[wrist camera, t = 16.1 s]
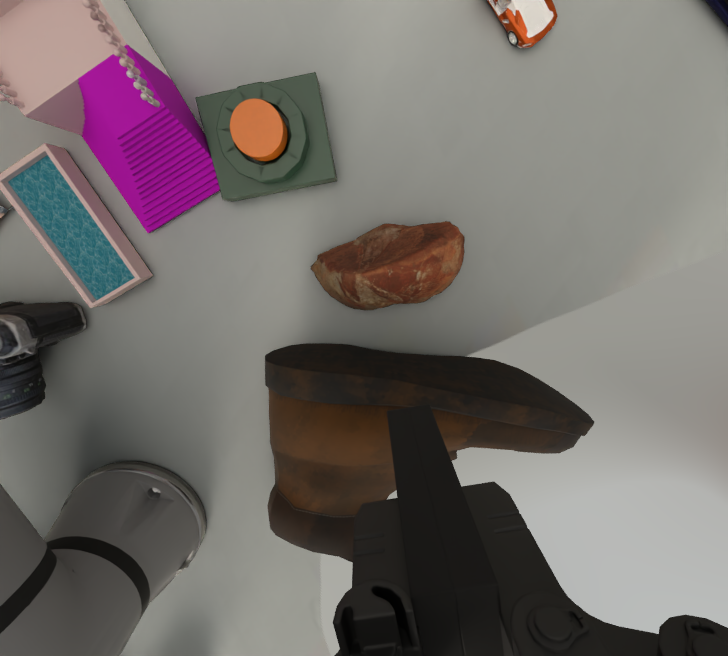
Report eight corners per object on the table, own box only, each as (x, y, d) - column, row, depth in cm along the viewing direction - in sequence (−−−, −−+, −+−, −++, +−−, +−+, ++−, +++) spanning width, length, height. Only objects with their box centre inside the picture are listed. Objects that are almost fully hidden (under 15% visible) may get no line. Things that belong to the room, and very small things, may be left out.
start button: (245, 165, 30) (237, 162, 28) (231, 111, 29) (223, 104, 27) (292, 156, 29) (288, 151, 28) (281, 101, 28) (275, 93, 27)
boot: (570, 370, 37) (526, 531, 42) (283, 331, 38) (271, 494, 43) (644, 420, 27) (575, 629, 31) (243, 365, 28) (233, 577, 32)
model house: (-88, 44, 30) (-324, -54, 20) (75, -82, 28) (-94, -265, 18) (106, 303, 36) (1, 334, 26) (253, 216, 34) (205, 210, 23)
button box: (231, 201, 34) (214, 198, 30) (206, 106, 32) (184, 89, 28) (337, 180, 33) (333, 174, 29) (318, 82, 31) (312, 61, 27)
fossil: (492, 249, 30) (414, 161, 31) (447, 276, 24) (352, 165, 25) (401, 329, 38) (344, 258, 40) (352, 364, 32) (286, 278, 34)
